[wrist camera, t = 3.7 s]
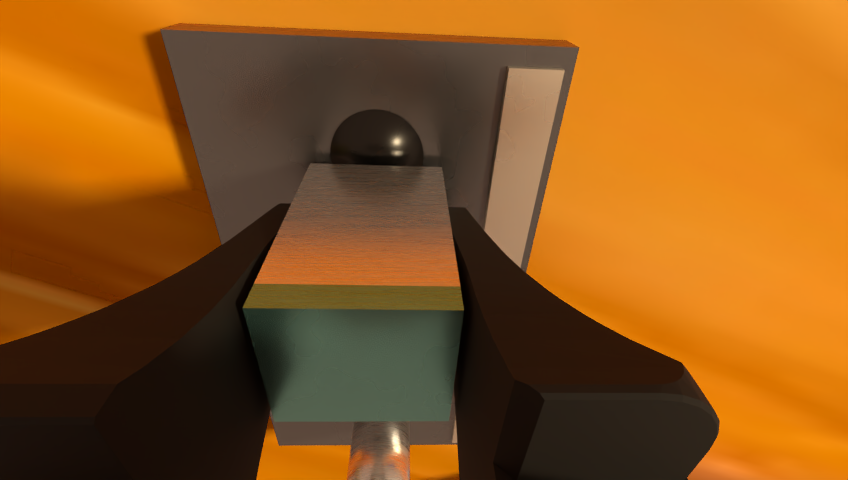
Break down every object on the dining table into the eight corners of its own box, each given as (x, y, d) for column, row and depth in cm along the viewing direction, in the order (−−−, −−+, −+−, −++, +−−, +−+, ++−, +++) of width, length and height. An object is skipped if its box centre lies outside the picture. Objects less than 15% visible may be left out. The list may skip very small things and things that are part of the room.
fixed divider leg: (413, 426, 19) (414, 573, 15) (352, 426, 19) (334, 575, 15) (415, 388, 18) (417, 541, 13) (349, 388, 18) (327, 543, 13)
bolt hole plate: (482, 425, 21) (485, 448, 20) (284, 425, 21) (277, 449, 20) (566, 40, 11) (581, 49, 10) (179, 23, 11) (156, 30, 10)
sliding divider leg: (434, 259, 13) (448, 421, 9) (321, 257, 13) (274, 421, 8) (442, 167, 11) (463, 310, 7) (310, 163, 11) (242, 308, 7)
